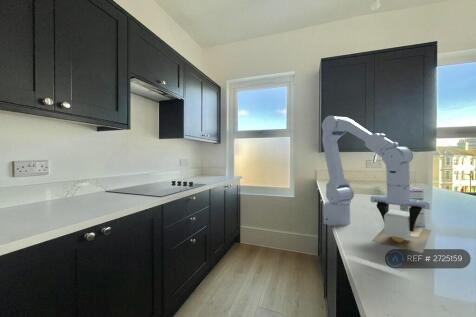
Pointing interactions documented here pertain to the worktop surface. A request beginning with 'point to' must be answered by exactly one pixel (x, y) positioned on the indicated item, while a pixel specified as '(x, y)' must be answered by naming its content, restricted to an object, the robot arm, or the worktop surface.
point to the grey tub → (397, 224)
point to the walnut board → (406, 240)
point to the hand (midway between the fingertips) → (398, 228)
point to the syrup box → (416, 195)
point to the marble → (397, 239)
